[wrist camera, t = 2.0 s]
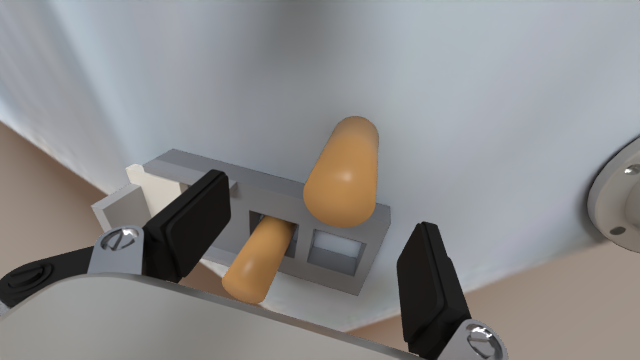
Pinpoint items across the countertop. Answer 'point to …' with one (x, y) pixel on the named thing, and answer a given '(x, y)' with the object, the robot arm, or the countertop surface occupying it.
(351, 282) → the housing
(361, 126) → the orange rounded peg
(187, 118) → the countertop surface
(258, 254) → the orange rounded capsule
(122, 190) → the lid
